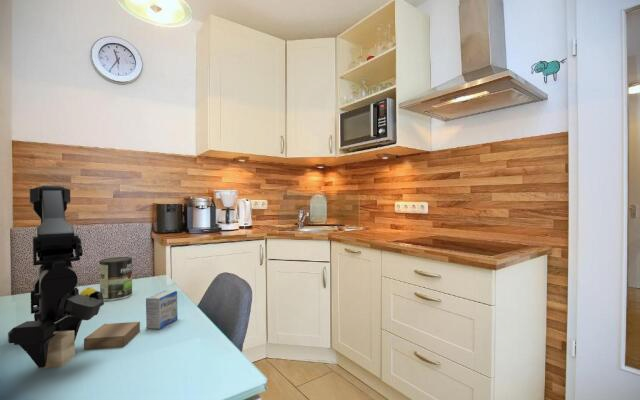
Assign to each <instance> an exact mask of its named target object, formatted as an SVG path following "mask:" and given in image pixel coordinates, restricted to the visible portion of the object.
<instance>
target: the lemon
mask: <svg viewBox="0 0 640 400" xmlns="http://www.w3.org/2000/svg"><path fill="white" fill-rule="evenodd" d="M95 291H97V290H96V289H95V288H92V287H86V288H85V289H83V290H82V291H81V292H79V295H83V296H84V295H86V294H87V295H88V296H89V295H90V294H91V293H93V292H95Z"/></svg>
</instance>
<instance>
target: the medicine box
mask: <svg viewBox="0 0 640 400" xmlns="http://www.w3.org/2000/svg"><path fill="white" fill-rule="evenodd" d="M177 319H178V291H177V290H173V289H172V290H171V289H170V290H169V289H168V290H167V289H166V290H163V291H161V292H159V293H158V292H157V293H156V294H154V295H150V296H149V297H146V298H145V322H146V324H145V325H146V329H150V330H151V329H152V330H153V329H154V330H155V329H156V330H161V329H163V328H164V327H166V326H168V325H169V324H171V323H173V322H175V321H177Z"/></svg>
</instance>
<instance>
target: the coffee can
mask: <svg viewBox="0 0 640 400" xmlns="http://www.w3.org/2000/svg"><path fill="white" fill-rule="evenodd" d="M98 263H99V292H102V295H103V299H104V300H103V302H111V301H113V302H114V301H115V302H116V301H119V300H124V299H127V298H130V297H132V296H133V257H132V256H131V257H130V256H118V257H115V256H114V257H109V258H108V257H107V258H104V259H101V260H99V262H98Z"/></svg>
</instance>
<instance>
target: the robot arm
mask: <svg viewBox="0 0 640 400" xmlns="http://www.w3.org/2000/svg"><path fill="white" fill-rule="evenodd" d="M71 202H72V201H71V189H69V188H65V186H61V185H45V184H44V185H41V186H40V185H39V186H37V187H36V186H35V188H34V187H33V188H29V205H32V206H33V207H32V210H33V212H34V213H35V214H36V215H37V217H38V218H39V219H40V224H39V225H38V226H37V227H36V236H32V262H33V263H32V265H33V267H34V266H39V267H38V277H37V279H36V280H35V281H34V283H33V290H30V315H33V316H34V317H33V319H34V320H26V321H25V322H22V323H20V324H18V325H17V326H14V327H13V328H11V329H10V330H9V331H8V333H7V343H8V344H13V345H15V346H16V345H19V347H21V349H22V350H23V351H24V352H25V353H26V354H27V356H29V357H30V359H31V360H32V361H33V362H34V364H35V365H36V366H37V367H39V368H38V369H45V368H44V367H45V366H46V361H47V353H48V343H49V341H50V340H51V339H52V338H53V337H54V336H55V335H56V334H53V333H54V332H58V331H73V330H74V338H75V340H77V336H78V332H79V330H80V327H81V325H82V323H83V321H89V320H92V318H93V317H95V316H97V315H98V314H99V311H100V309H101V307H102V306H104V305H105V301H103V300H104V299H103V295H102V292H100V290H96V291H95V292H93V293H91V294H90V295H89V296H88V295H87V294H86V295H84V296H83V295H79V294H80V291H79V290H80V289H79V288H78V287H76V286H77V285H78V281H79V280H78V275H77V273H76V272H75V270H74V269H73V263H72V262H77V261H78V262H79V261H80V260H81V257H83V247H82V246H83V245H82V240H81V238H80V237H79V234H78V233H75V230H74V226H73V224H71V223H69V222H68V221H66V214H65V212H66V211H67V209H68V204H69V205H70V204H71Z"/></svg>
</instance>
